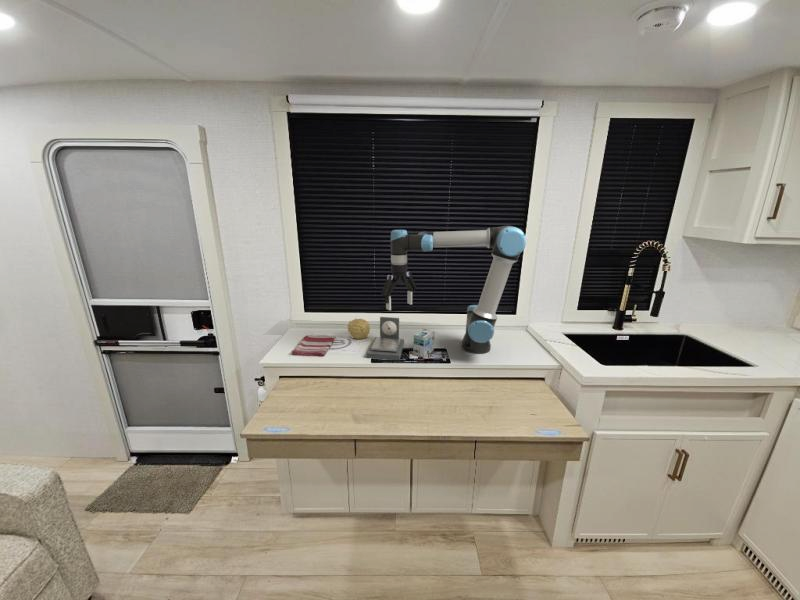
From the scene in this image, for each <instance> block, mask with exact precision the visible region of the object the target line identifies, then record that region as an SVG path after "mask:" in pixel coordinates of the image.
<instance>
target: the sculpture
mask: <svg viewBox="0 0 800 600" xmlns="http://www.w3.org/2000/svg"><path fill="white" fill-rule="evenodd" d="M347 331H348V333H349V334H350V336H351V337H352V338H353V339H355V340H362V339H365V338H367V337H368V336H369V335H370V331H371V325H370V324H369V322H368V321H367V320H365V319H363V318H355V319H352V320H349V322H348V324H347Z"/></svg>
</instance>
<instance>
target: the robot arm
mask: <svg viewBox="0 0 800 600" xmlns="http://www.w3.org/2000/svg"><path fill="white" fill-rule="evenodd" d="M526 245H527V238H526V235H525V233H524V231H523V230H522V229H520V228H519V227H516V226H513V225H502V226H497V227H488V228H487V229H480V230H479V229H478V230H455V231H453V230H452V231H448V230H447V231H421V232H418V233H417V234H409V233H408V231H407V230H406V229H393V230H392V231H391V232H390V263H391V266H390V270H391V275H390V274H387V275H386V277H385V282H384V284H383V287H382V291H381V293H380V296H383V297H384V303H385V308H386V309H385V310H388V311H392V298H391V297H392V296H391V295H392V294H391V293H392V292H393V290H394V289H395V287H396V286H397V285H398V284H403V285H404V286H405V287H406V289H407V297H406V298H407V301H406V302H407V304H409V305H413V297H414V292H415V290H417V286H416V284H415V281H414V279H413V275H412V271H408V264H407V263H408V252H432V251H433V248H453V247H454V248H460V247H461V248H463V247H464V248H465V247H466V248H467V247H486V248H487V249H492V250H491V256H492V257H493V260H492V262H491V265H490V268H489V271H488V274H487V277H486V279H485V283H484V286H483V289H482V292H481V295H480V298H479V302H478V304H471V305H468V306H467V310H466V322H465V323H466V324H465V334H464V335H463V338H462V340H461V344H460V346H461V349H462V350H464V351H466V352H468V353H472V354H477V355H478V354H487V353H489V352H490V351H491V347H492V345H491V340H492V339H493V337H494V334H495V325H496V323H497V320H498V316H497V314H496V312H497V310H498V307H499V303H500V301H501V298H502V295H503V292H504V289H505V287H506V284H507V282H508V278H509V275H510V272H511V269H512V267H513V265H514V263H517V262H518V260H519V257H520V256H521V253H523V251H524V250H525V248H526Z"/></svg>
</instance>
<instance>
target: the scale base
mask: <svg viewBox="0 0 800 600" xmlns="http://www.w3.org/2000/svg"><path fill="white" fill-rule="evenodd" d="M376 338H388V339H401V341H400V344H399V348H398V351H397V352H393V351H379V350H371V347H372V345H373V343H374V341H375V339H376ZM404 345H405V339H404V338H400V317H392V316H391V317H390V316H389V317H388V316H379V337H377V336H376V337H374V338H373V341H372V343H371V345H370V347H369V348H368V351H367V352H366V358H367V359H376V360H392V361H400V360H401V356H402V353H403V349H404Z"/></svg>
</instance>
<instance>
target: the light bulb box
mask: <svg viewBox="0 0 800 600" xmlns="http://www.w3.org/2000/svg"><path fill="white" fill-rule="evenodd" d="M434 345H435V330H432V329H426V328H425V327H424V328H422V329H420V330H419V331H417V332H415V333H414V334H413V351H412V352H413V355H416V356H418V357H422V358H425V357H427V356H428V355H429V354H431V353H432V352H434V351H435V349H434V347H435V346H434Z"/></svg>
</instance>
